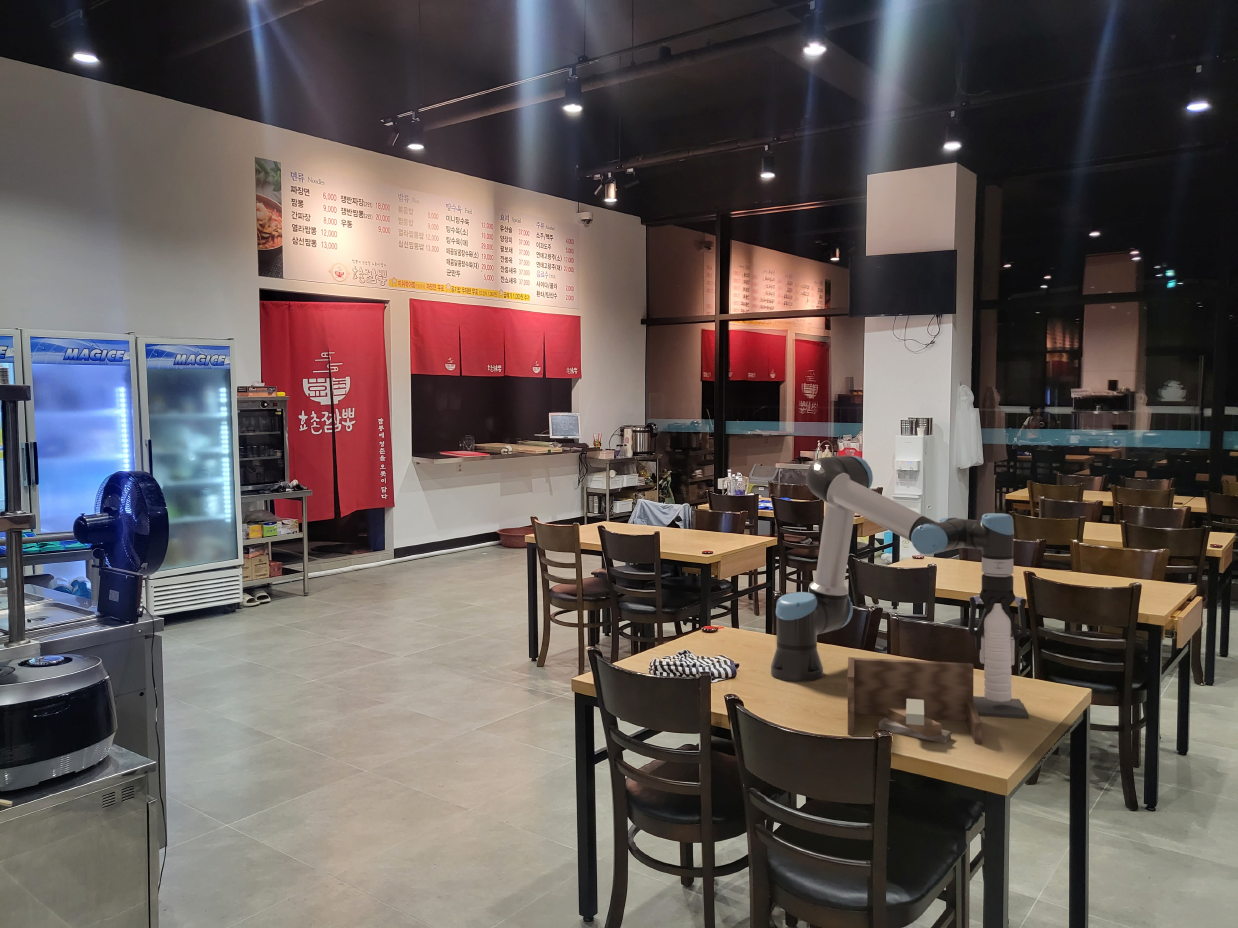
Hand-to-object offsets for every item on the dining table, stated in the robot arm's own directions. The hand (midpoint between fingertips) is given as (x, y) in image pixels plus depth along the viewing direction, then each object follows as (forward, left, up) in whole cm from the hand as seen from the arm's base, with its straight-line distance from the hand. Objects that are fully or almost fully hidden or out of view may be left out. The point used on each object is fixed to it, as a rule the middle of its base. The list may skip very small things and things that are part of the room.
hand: (996, 662), depth 231 cm
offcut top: (-21, -23, -8) cm, 33 cm away
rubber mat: (0, 0, -12) cm, 12 cm away
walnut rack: (-22, -18, -12) cm, 31 cm away
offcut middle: (-22, -23, -10) cm, 33 cm away
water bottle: (-1, 0, -9) cm, 9 cm away
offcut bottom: (-22, -23, -13) cm, 34 cm away
